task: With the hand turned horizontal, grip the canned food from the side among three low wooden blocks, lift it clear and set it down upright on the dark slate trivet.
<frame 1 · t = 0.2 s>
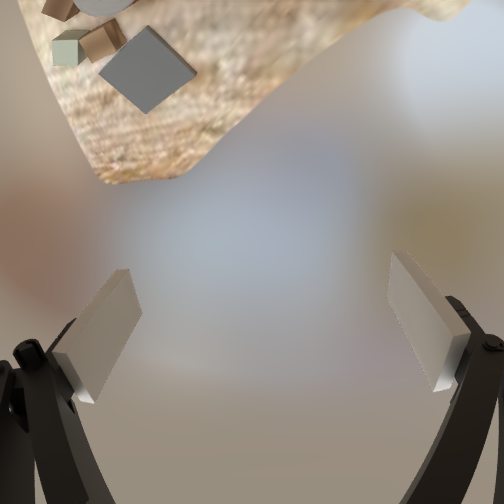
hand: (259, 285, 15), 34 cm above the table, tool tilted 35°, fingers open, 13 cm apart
sage painted block: (77, 42, 32), on the table
teak block: (108, 35, 32), on the table
trivet: (147, 70, 38), on the table
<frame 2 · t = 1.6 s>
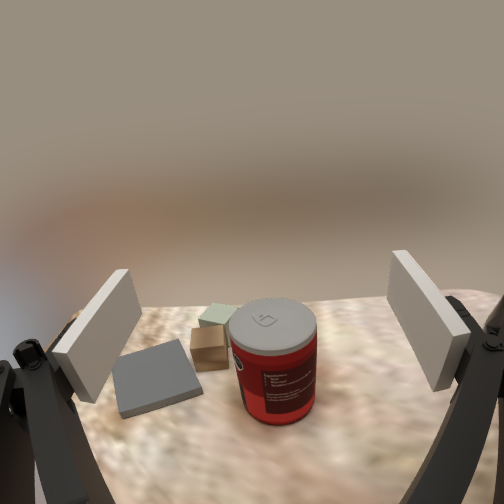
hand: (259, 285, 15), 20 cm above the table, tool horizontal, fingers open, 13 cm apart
canned food: (278, 400, 32), on the table
sage painted block: (223, 336, 44), on the table
teak block: (212, 360, 39), on the table
trivet: (153, 379, 36), on the table
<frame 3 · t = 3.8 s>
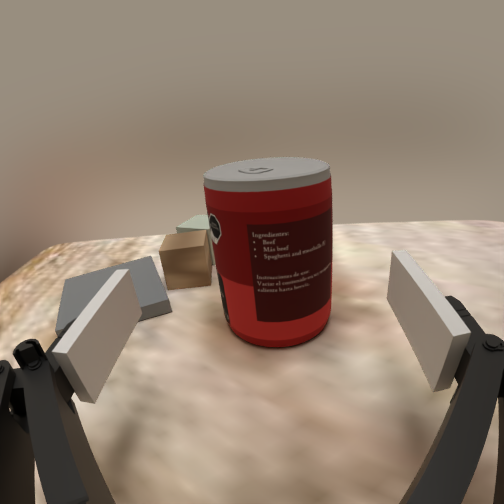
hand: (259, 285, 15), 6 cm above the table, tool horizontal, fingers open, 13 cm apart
canned food: (277, 318, 24), on the table
sage painted block: (207, 255, 35), on the table
teak block: (191, 278, 31), on the table
trivet: (111, 299, 28), on the table
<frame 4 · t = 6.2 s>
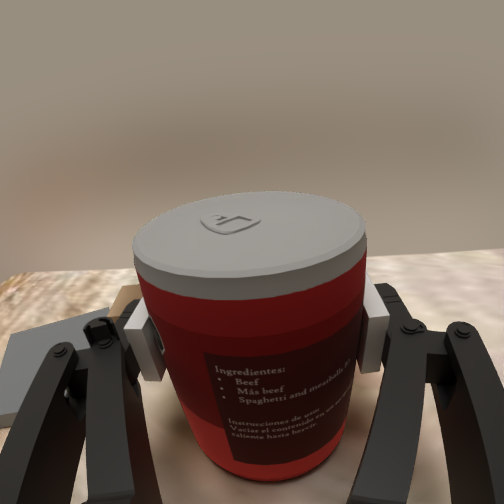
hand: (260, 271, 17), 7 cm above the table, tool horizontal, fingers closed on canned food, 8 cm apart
canned food: (268, 425, 15), on the table, touching gripper
teak block: (156, 344, 22), on the table
trivet: (58, 369, 19), on the table
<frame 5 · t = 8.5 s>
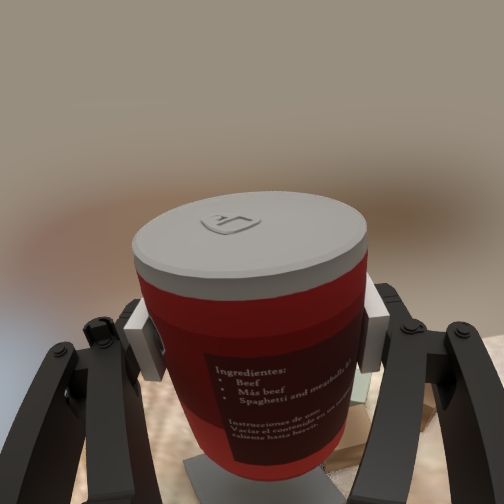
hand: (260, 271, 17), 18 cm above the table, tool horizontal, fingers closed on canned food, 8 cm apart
canned food: (268, 425, 15), point 12 cm above the table, touching gripper
sage painted block: (343, 408, 28), on the table
teak block: (342, 449, 24), on the table
trivet: (260, 489, 21), on the table
walnut block: (415, 411, 26), on the table
when the fingers open (9 cm above the table, at t = 10.8 s): canned food drops 1 cm, resting on trivet.
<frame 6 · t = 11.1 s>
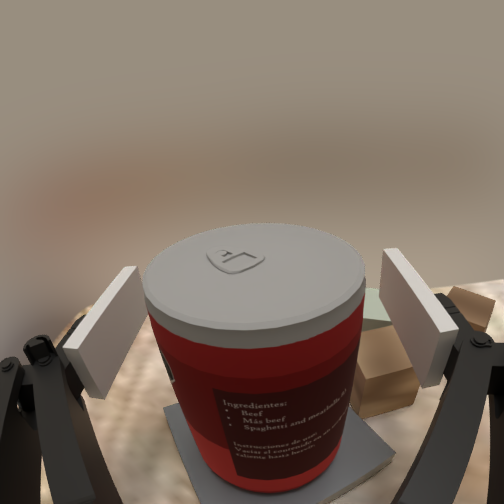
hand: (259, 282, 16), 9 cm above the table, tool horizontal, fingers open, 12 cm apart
canned food: (268, 439, 16), point 1 cm above the table, touching trivet
sage painted block: (370, 344, 23), on the table
teak block: (375, 391, 19), on the table
trivet: (271, 447, 16), on the table
walnut block: (456, 345, 21), on the table
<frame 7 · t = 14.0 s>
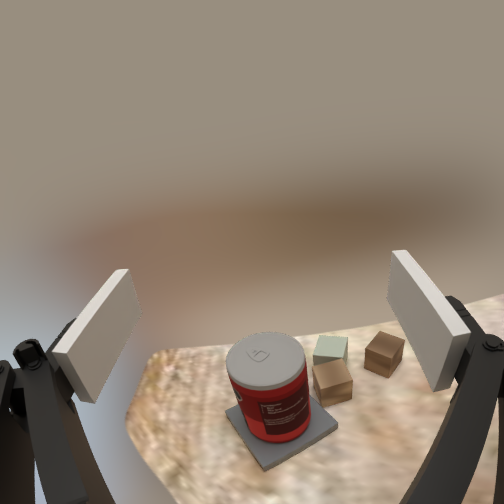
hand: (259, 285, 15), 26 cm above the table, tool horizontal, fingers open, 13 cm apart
canned food: (278, 419, 35), point 1 cm above the table, touching trivet
sage painted block: (331, 366, 43), on the table
teak block: (332, 392, 38), on the table
trivet: (280, 423, 35), on the table
walnut block: (383, 364, 40), on the table
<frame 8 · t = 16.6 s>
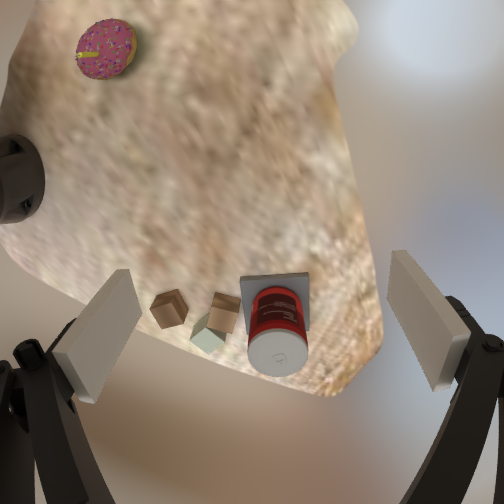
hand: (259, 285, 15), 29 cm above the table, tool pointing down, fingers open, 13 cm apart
cupcake: (120, 53, 35), on the table
canned food: (276, 306, 49), point 1 cm above the table, touching trivet
sage painted block: (210, 326, 52), on the table
teak block: (225, 305, 50), on the table
trivet: (276, 303, 50), on the table
walnut block: (172, 302, 51), on the table
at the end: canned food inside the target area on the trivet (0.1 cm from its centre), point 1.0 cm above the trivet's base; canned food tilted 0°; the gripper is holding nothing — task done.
